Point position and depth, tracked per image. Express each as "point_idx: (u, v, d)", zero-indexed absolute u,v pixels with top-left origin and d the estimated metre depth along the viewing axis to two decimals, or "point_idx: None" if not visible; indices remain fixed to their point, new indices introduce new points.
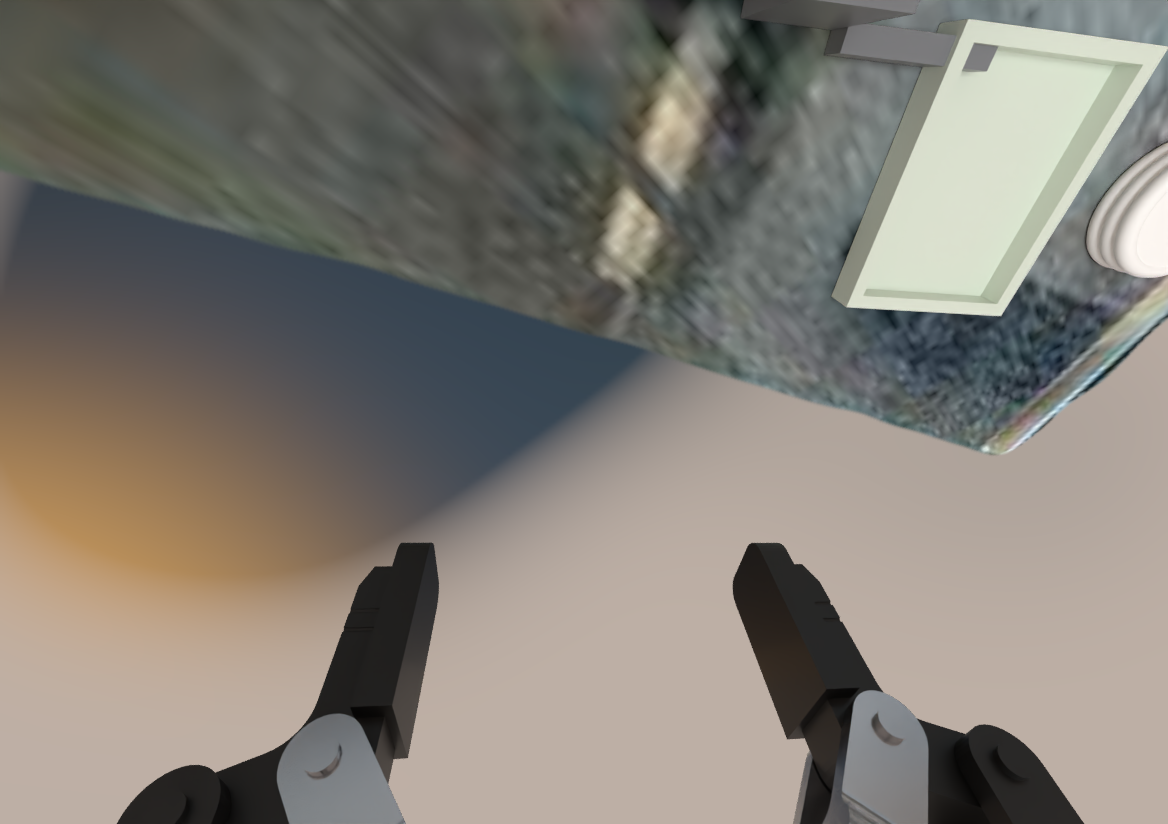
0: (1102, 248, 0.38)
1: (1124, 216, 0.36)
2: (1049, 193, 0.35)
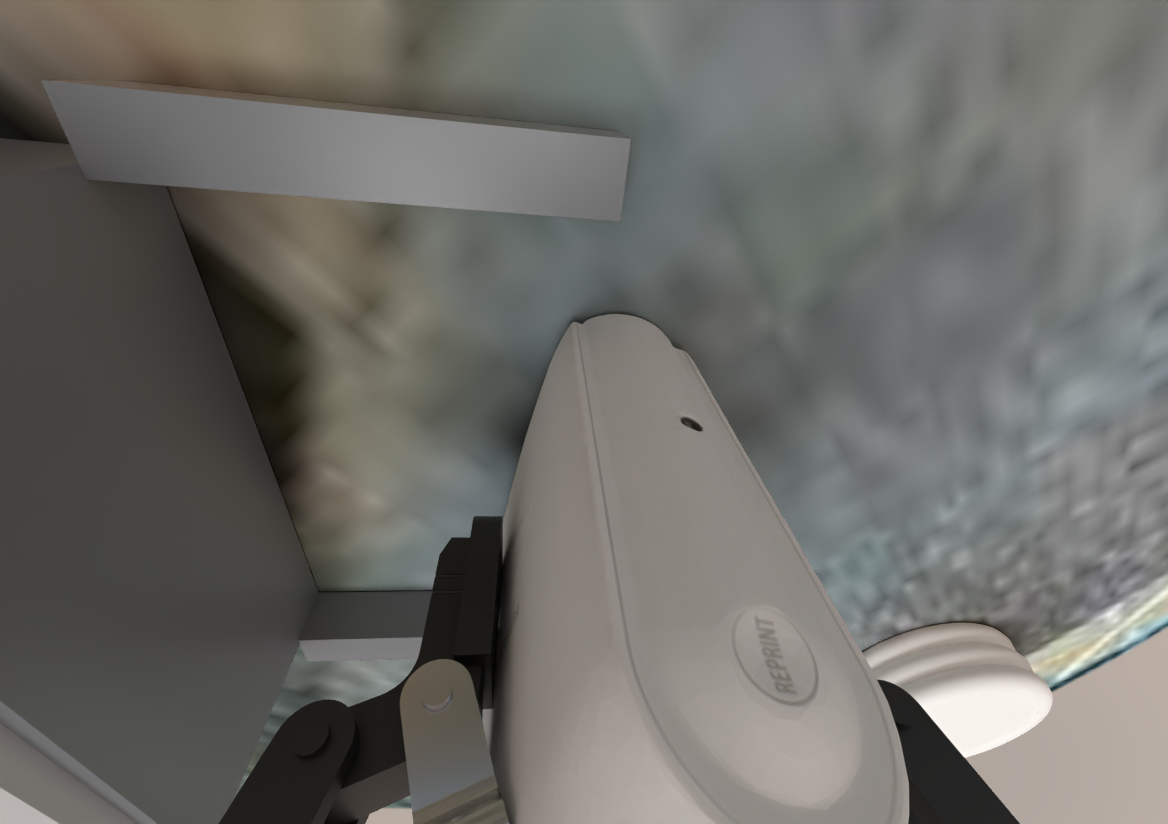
0: None
1: None
2: None
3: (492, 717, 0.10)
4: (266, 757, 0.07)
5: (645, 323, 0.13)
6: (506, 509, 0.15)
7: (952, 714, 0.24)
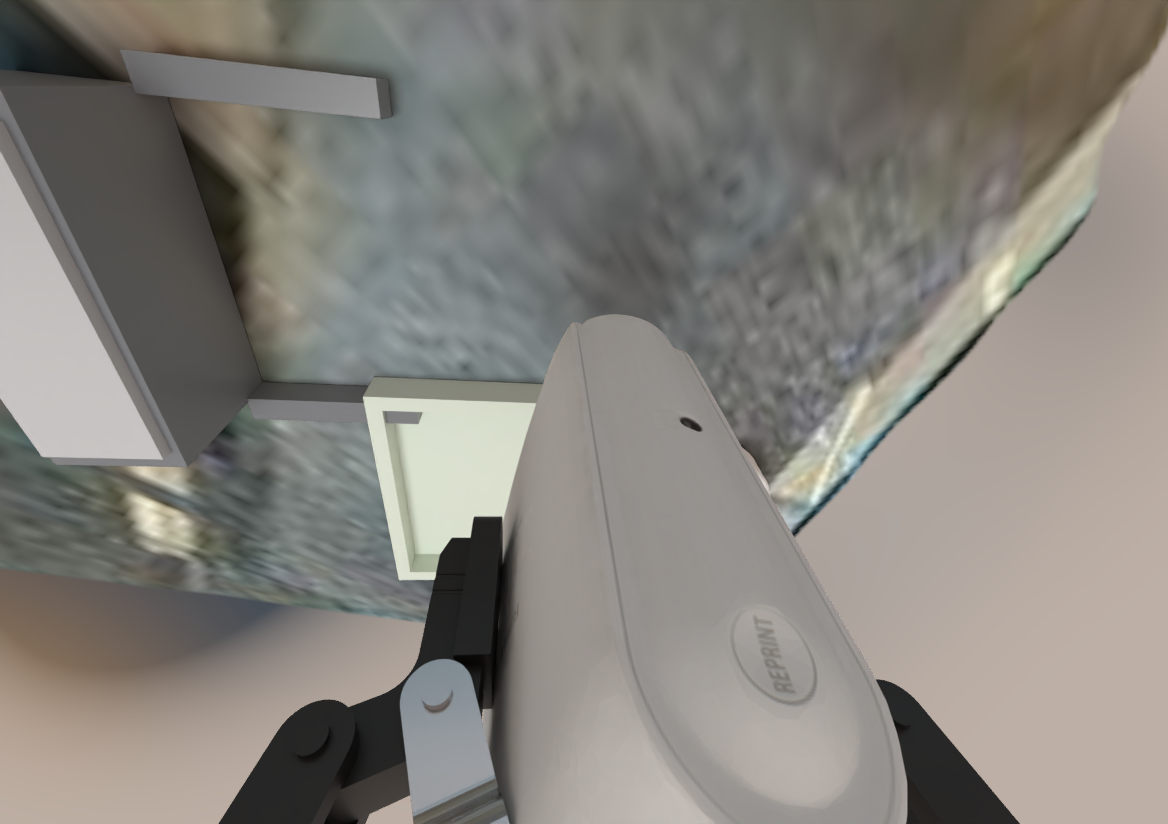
0: None
1: None
2: None
3: (492, 717, 0.10)
4: (266, 758, 0.07)
5: (645, 323, 0.13)
6: (506, 509, 0.15)
7: None
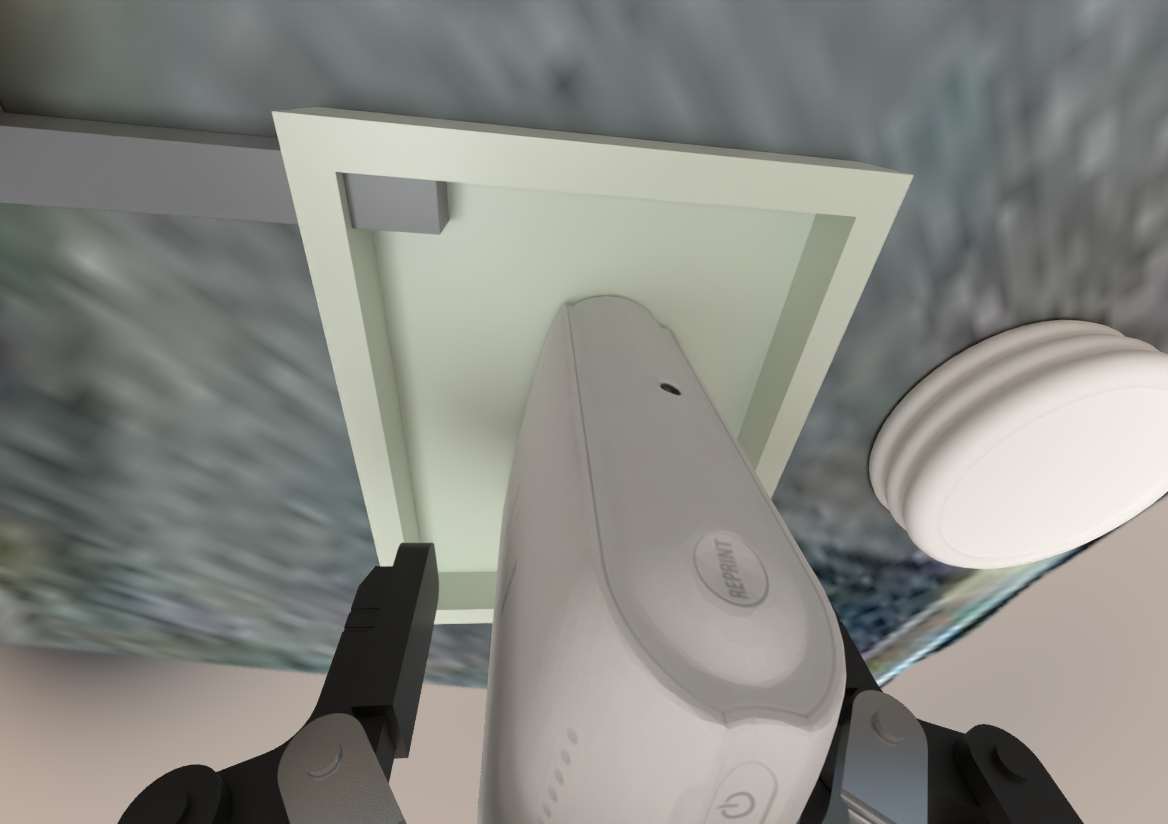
0: None
1: (910, 481, 0.17)
2: (747, 440, 0.17)
3: (495, 665, 0.11)
4: None
5: (632, 304, 0.14)
6: (507, 486, 0.16)
7: (1066, 440, 0.15)
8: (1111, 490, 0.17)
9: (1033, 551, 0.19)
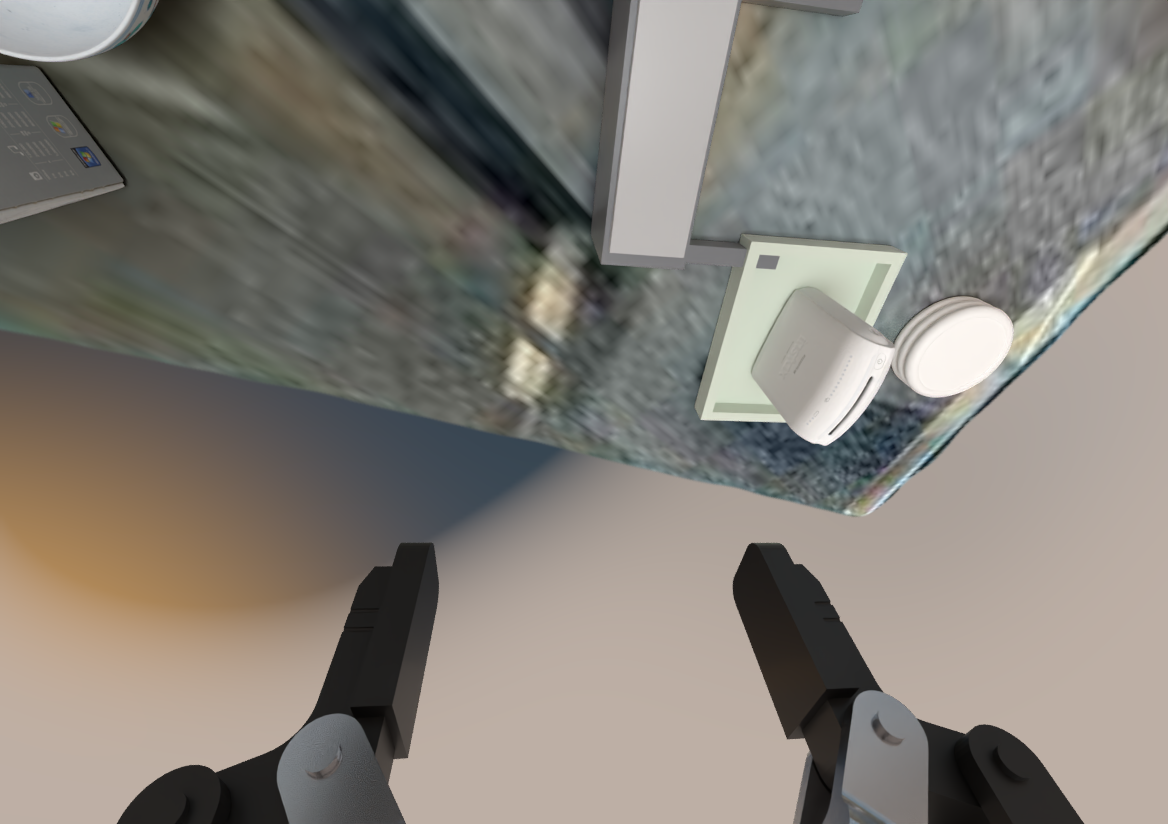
0: (899, 374, 0.49)
1: (907, 356, 0.46)
2: None
3: (795, 385, 0.40)
4: None
5: None
6: (763, 355, 0.45)
7: (960, 337, 0.45)
8: (981, 359, 0.46)
9: (955, 388, 0.48)
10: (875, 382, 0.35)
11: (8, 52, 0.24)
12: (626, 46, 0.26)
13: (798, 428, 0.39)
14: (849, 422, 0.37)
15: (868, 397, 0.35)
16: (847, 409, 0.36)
